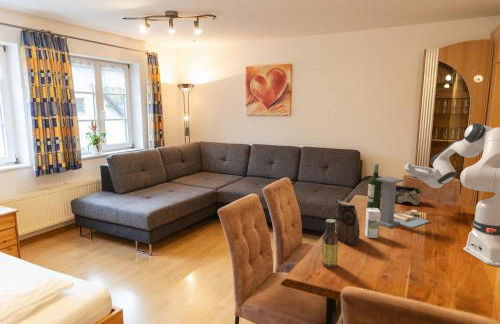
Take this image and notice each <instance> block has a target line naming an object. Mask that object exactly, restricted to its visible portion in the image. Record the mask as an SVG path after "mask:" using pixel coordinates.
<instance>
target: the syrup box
mask: <svg viewBox="0 0 500 324" xmlns="http://www.w3.org/2000/svg"><path fill="white" fill-rule="evenodd" d="M380 213H381V210H379V209H378V208H367V207H366V209H365V222H364V235H365V237H366V238H367V239H379V234H380V233H379V232H380V225H379V224H380Z"/></svg>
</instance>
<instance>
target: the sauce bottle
mask: <svg viewBox="0 0 500 324" xmlns="http://www.w3.org/2000/svg"><path fill="white" fill-rule="evenodd" d="M335 227H336V220H335V218H334V219H333V218H329V219H327V218H326V220H325V231H324V233H323V236H322V243H321V244H322V245H321V246H322V248H321V249H322V250H321V252H322V253H321V261H322V265H323V266H325V267H327V268H330V269H331V268H336V267H337V265H338V255H339V254H338V251H339V248H338V246H339V243H338V242H339V241H338V236H337V234H336V229H335Z"/></svg>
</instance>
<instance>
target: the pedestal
mask: <svg viewBox="0 0 500 324" xmlns="http://www.w3.org/2000/svg"><path fill="white" fill-rule="evenodd" d="M376 180H378V181H382V185H383V188H382V192H381V204H380V213H381V217H380V224H379V226H382V227H385V228H388V229H390V228H394V227H397V226H399V225H400V222H399V221H395V220H394V211H395V207H396V206H395V205H396V202H395V195H396V185H397V184H398V183H402V182H404V178H397V177H393V176H389V175H387V176H382V177H379V178H376ZM400 226H401V225H400Z"/></svg>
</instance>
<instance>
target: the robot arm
mask: <svg viewBox="0 0 500 324" xmlns="http://www.w3.org/2000/svg"><path fill="white" fill-rule="evenodd" d="M455 153H456V154H458V155H459V156H461V157H464V158H468V159H469V158H470V159H472V158H475V157H477V156H479V155H480V154H481V153H482V154H481V158H480V159H479V160H478V161H477V162H476V163H474V164H473V165H470V166H466V167H465V168H464V169H463V170H462V171H461V172H460V174H459V175H460V176H459V178H460V179H459V180H460V183H461V185H462V186H463V187H464V188H466V189H471V190H474V191H478V192H486V193H487V192H488V193H494V195H493V196H492V197H489V198H485V199H483V200H482V199H481V200H480V201H478V202H477V204H476V205H475V215H474V218H473V221H472V229H471V230H470V232H469V233H468V237H467V241H466V246H464V247H463V251H465V252H467V253H468V254H469V255H471V256H473V257H475V258H476V259H478V260H480V261H481V262H483V263H485V264H486V265H491V266H494V267H500V126H499V127H493V126H492V127H491V126H489V125H485V124H483V123H477V122H474V123H471V124H469V125H468V126H467V128H466V129H465V131H464V134H463V139H458V140H455V141H453V142H452V143H450V144H449V145H448V146H446V147H445V148H444V149H443V150H441V151H440V152H438V153H436V154H435V155H434V156H432V158H431V159H430V164H431V166H432V167H428V166H426V165H424V166H420V165H419V166H418V165H414V164H413V165H412V164H411V163H407V164H405V165H404V169H403V170H404V171H405V172H406V173H407V174H409V175H410V177H412V178H415V179H418V180H419V181H422V182H424V183H425V184H426V185H427V186H429V187H430V188H433V189H440V188H441V187H443V186H444V185H447V184H450V183H452V182H453V181H454V180H455V179H456V177H457V171H456V169H455V168H454V166H453V165H452V163H451V161H450V157H451V156H453V155H454V154H455Z"/></svg>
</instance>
